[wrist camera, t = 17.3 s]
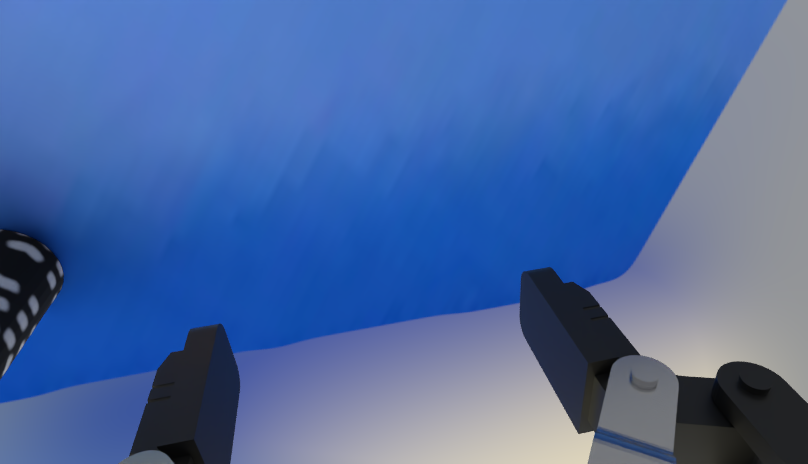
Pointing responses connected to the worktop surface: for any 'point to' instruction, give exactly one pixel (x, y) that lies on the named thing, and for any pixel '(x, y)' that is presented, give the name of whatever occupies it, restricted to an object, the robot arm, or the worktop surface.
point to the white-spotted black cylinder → (24, 290)
